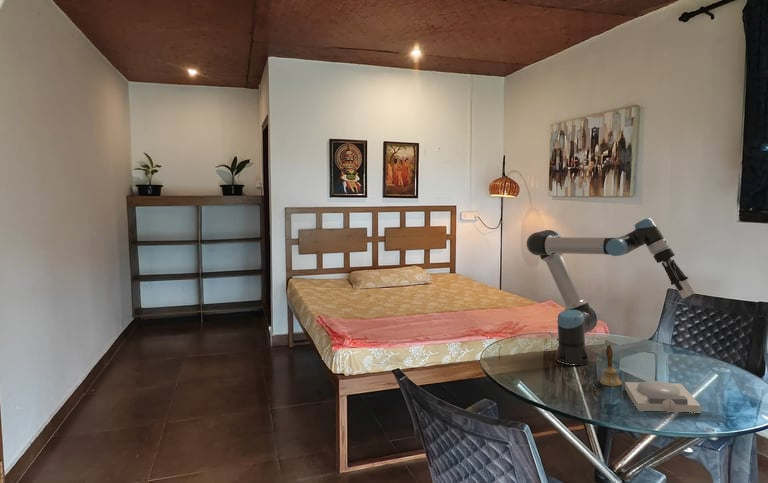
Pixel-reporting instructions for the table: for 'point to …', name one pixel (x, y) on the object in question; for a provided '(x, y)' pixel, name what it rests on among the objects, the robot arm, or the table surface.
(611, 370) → the hand bell
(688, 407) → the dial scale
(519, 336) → the table surface
